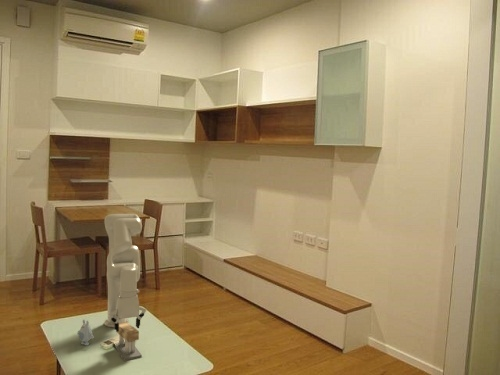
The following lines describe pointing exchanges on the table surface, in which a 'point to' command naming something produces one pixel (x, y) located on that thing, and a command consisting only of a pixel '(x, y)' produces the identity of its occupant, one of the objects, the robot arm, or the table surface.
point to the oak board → (128, 332)
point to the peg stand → (127, 349)
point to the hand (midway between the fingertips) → (127, 329)
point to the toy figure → (85, 333)
